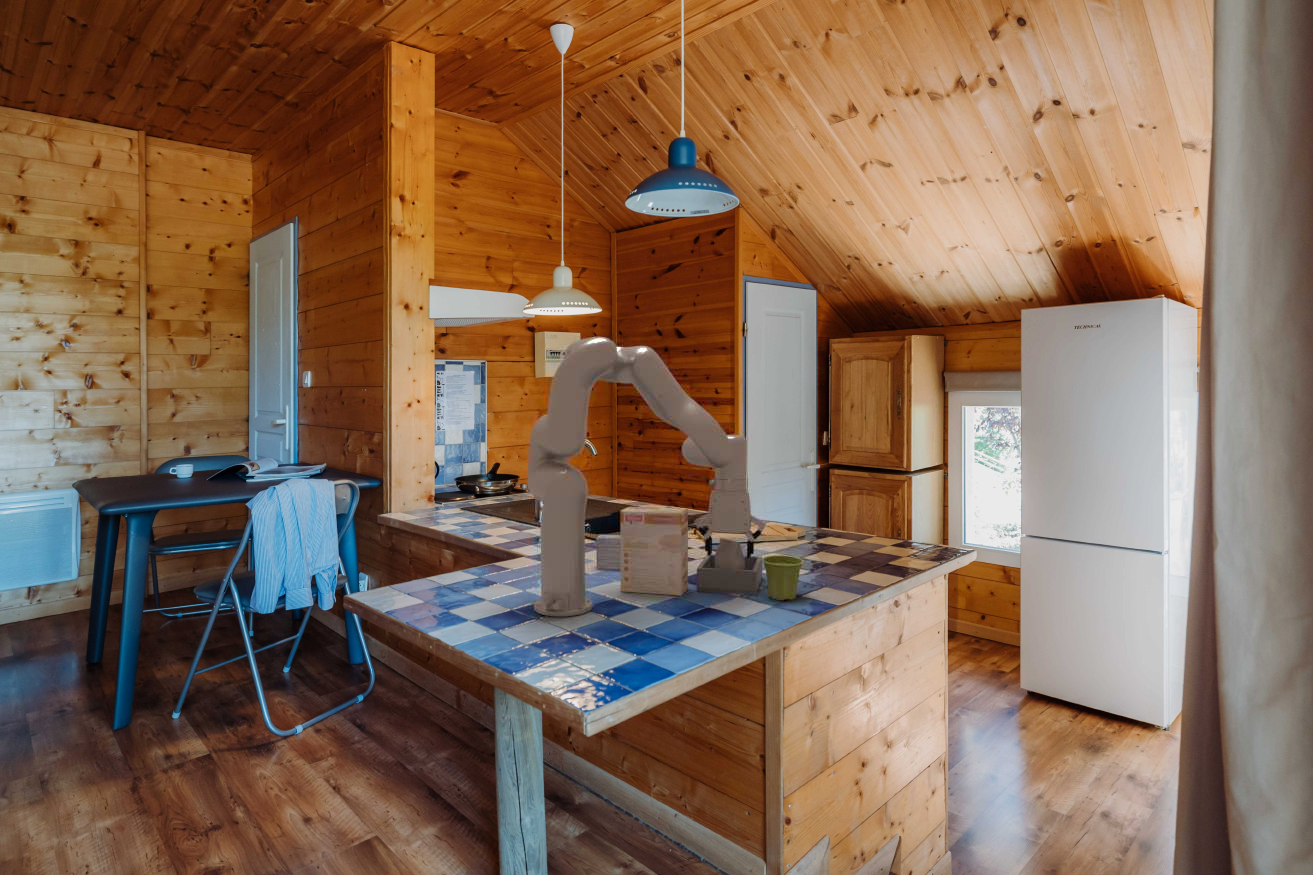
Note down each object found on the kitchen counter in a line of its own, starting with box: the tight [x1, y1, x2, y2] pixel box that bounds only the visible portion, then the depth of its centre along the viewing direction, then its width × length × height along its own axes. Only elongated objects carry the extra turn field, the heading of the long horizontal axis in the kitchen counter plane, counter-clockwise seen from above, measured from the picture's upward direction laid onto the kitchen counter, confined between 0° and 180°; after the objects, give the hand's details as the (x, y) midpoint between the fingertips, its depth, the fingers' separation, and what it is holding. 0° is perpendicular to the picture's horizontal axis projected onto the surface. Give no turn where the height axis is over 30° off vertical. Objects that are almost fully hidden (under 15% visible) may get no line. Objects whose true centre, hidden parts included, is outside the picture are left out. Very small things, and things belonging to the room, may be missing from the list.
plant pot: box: [762, 555, 805, 601], centre depth 171 cm, size 9×9×9 cm
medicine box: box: [595, 534, 621, 571], centre depth 199 cm, size 8×4×9 cm, turn 84°
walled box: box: [696, 553, 763, 596], centre depth 182 cm, size 16×14×6 cm
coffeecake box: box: [619, 506, 689, 597], centre depth 177 cm, size 15×7×20 cm, turn 74°
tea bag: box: [715, 537, 745, 570], centre depth 182 cm, size 4×7×10 cm, turn 36°
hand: (729, 555), depth 182 cm, fingers open, 9 cm apart
